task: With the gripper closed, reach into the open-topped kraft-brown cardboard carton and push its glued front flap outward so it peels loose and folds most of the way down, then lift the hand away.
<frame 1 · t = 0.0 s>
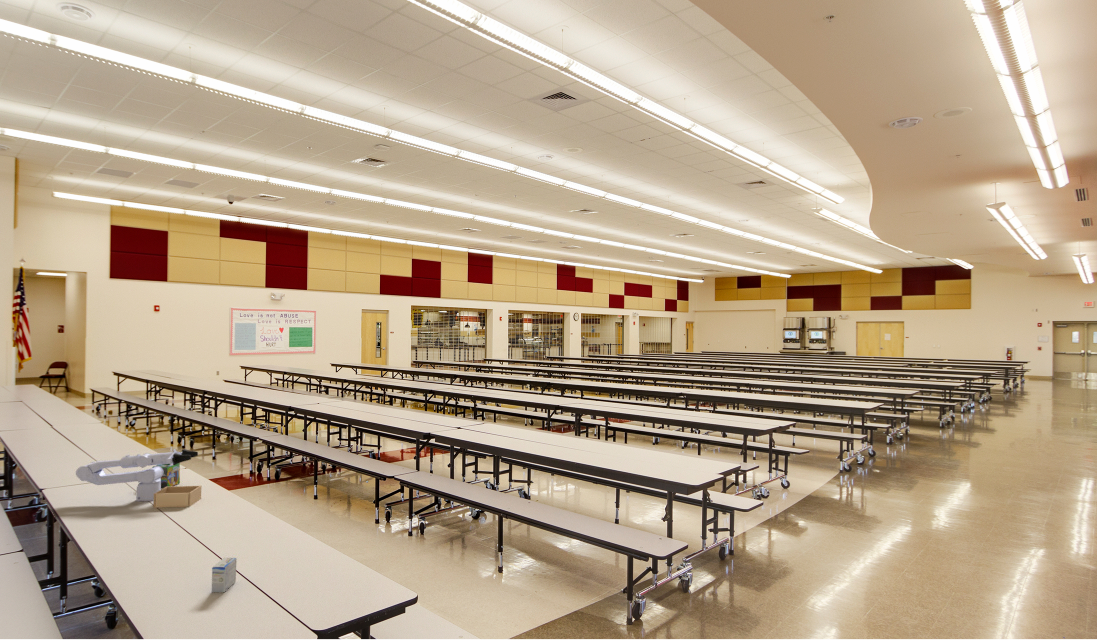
hand: (194, 455, 283), 22 cm above the table, tool horizontal, fingers open, 7 cm apart
chalk box: (165, 486, 303), on the table
medicine box: (223, 588, 190), on the table
carton: (177, 504, 273), on the table
flap: (172, 500, 268), point 4 cm above the table, hinge at 0.0°
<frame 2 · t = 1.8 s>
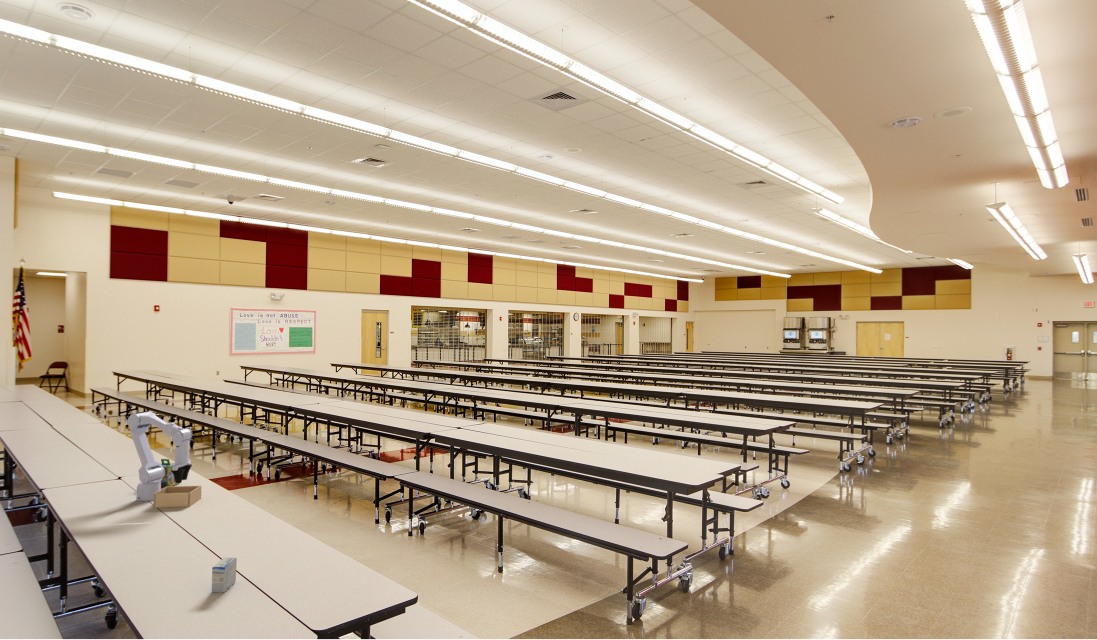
hand: (181, 481, 276), 10 cm above the table, tool pointing down, fingers open, 5 cm apart
nothing on the table moved.
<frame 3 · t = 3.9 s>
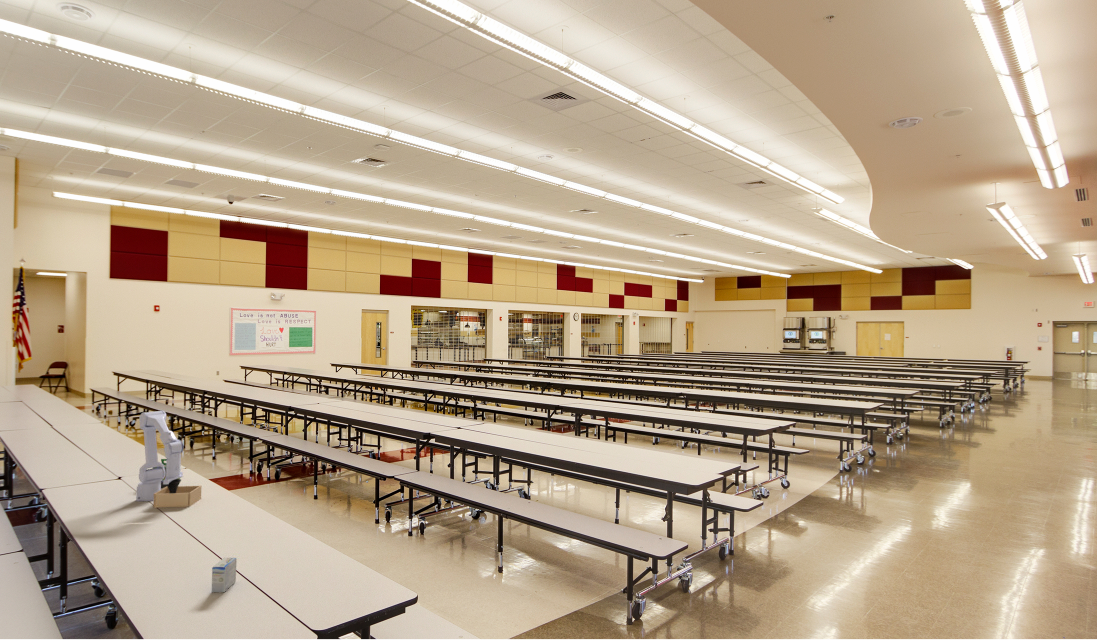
hand: (172, 495, 268), 6 cm above the table, tool pointing down, fingers closed, pressing on flap
flap: (172, 500, 268), point 4 cm above the table, hinge at 0.7°, touching gripper
everything else where it was.
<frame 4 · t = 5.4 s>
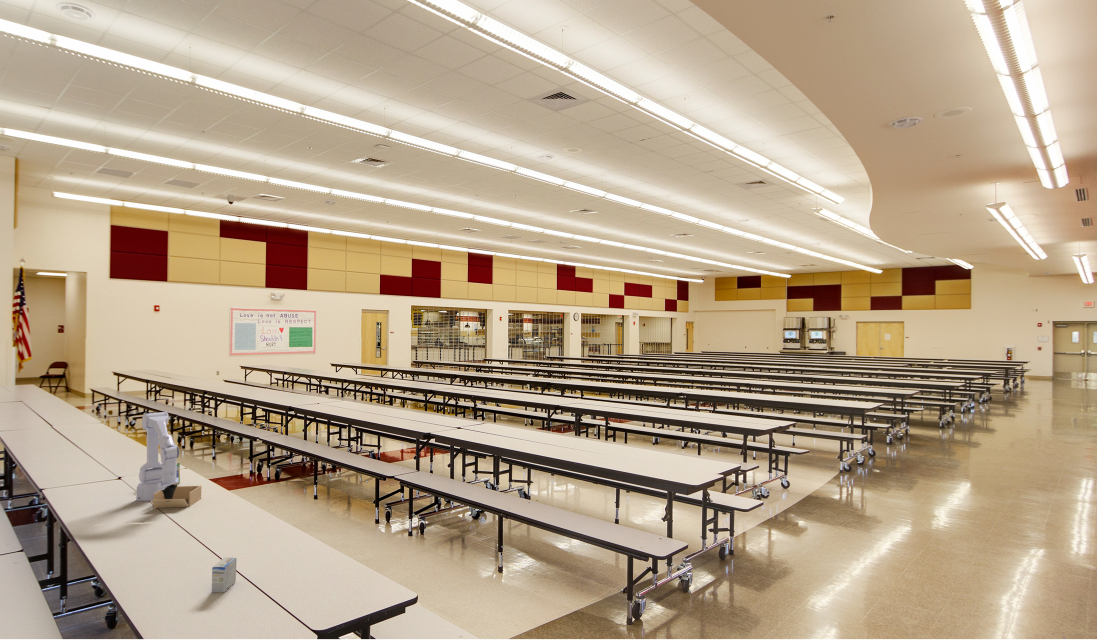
hand: (168, 501, 264), 5 cm above the table, tool pointing down, fingers closed, pressing on flap
flap: (169, 503, 265), point 3 cm above the table, hinge at 43.2°, touching gripper
everything else where it was.
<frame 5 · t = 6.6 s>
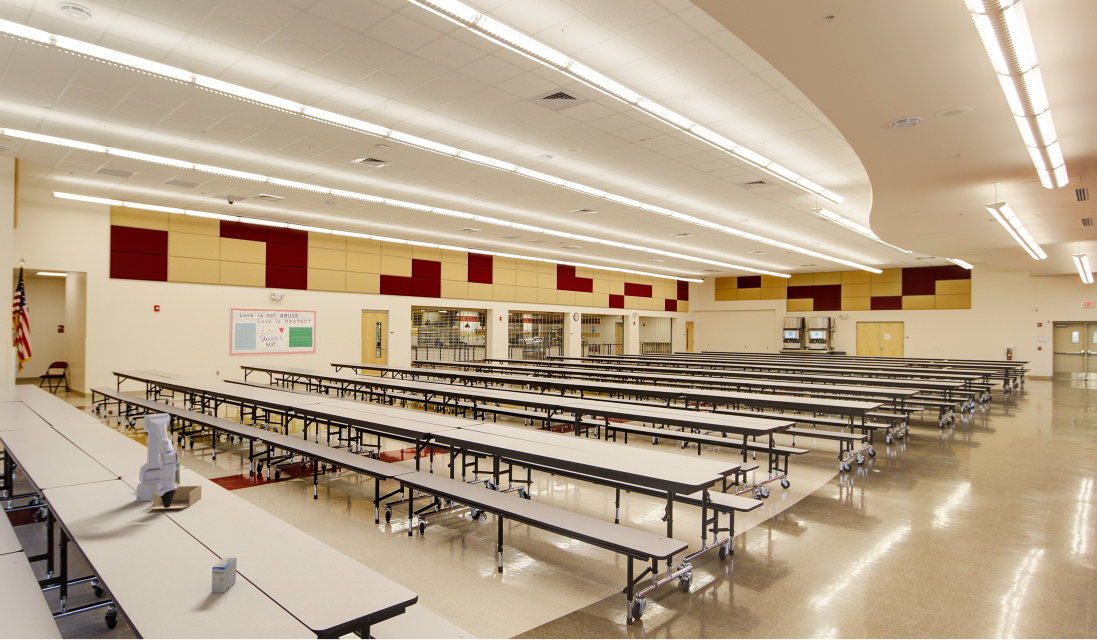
hand: (167, 506, 263), 2 cm above the table, tool pointing down, fingers closed
flap: (168, 507, 264), point 1 cm above the table, hinge at 79.0°
everything else where it was.
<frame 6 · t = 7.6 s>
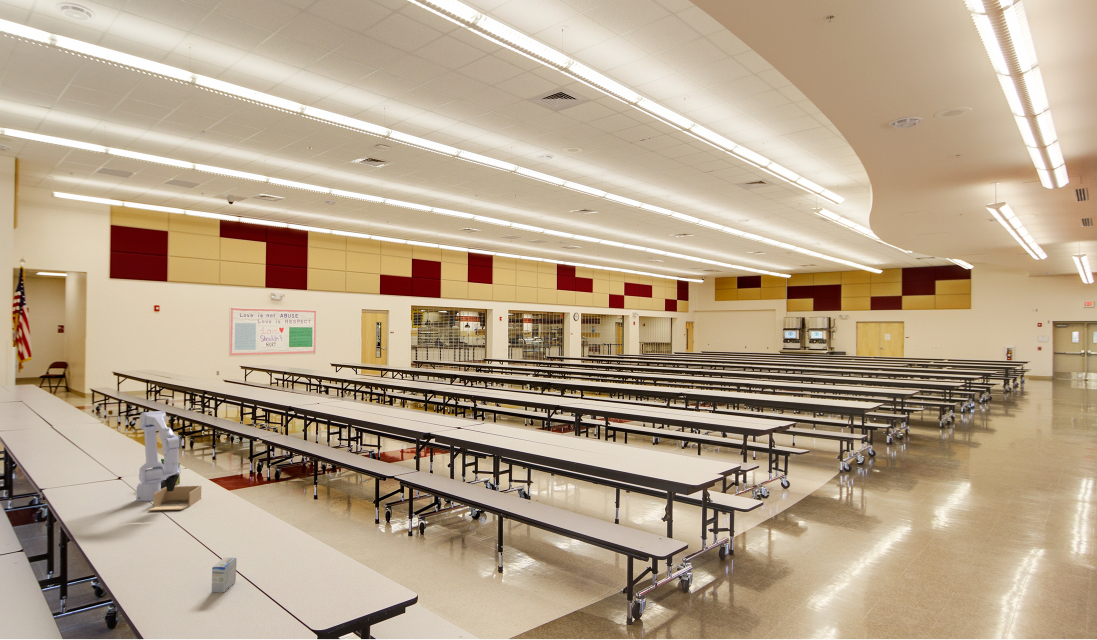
hand: (170, 491, 267), 9 cm above the table, tool pointing down, fingers closed
flap: (168, 508, 264), point 1 cm above the table, hinge at 83.3°
everything else where it was.
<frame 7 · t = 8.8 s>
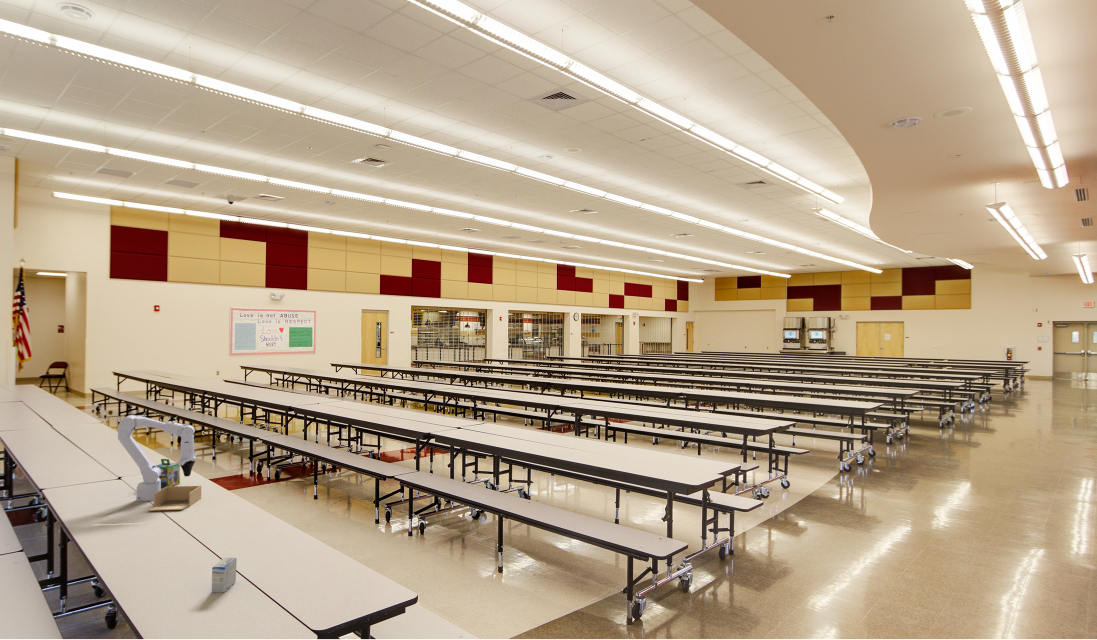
hand: (187, 475, 286), 10 cm above the table, tool pointing down, fingers closed
flap: (168, 508, 264), point 1 cm above the table, hinge at 83.8°
everything else where it was.
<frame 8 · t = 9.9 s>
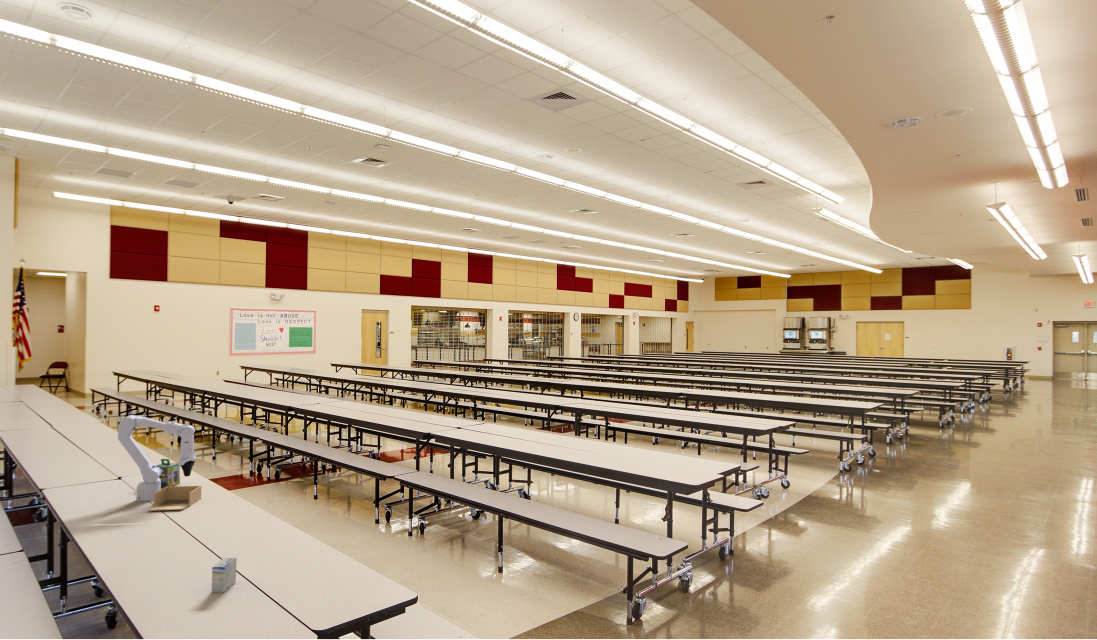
hand: (187, 475, 286), 10 cm above the table, tool pointing down, fingers closed
nothing on the table moved.
at the end: flap at +84° (first picture: +0°); the gripper is holding nothing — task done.
